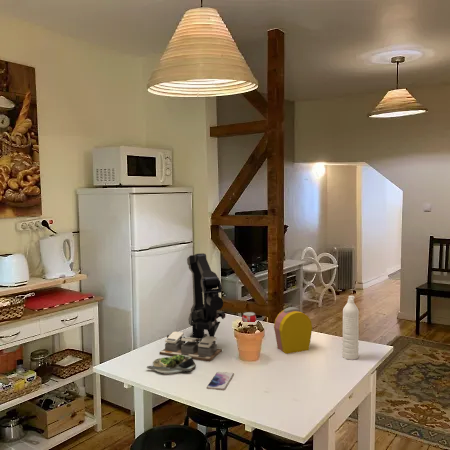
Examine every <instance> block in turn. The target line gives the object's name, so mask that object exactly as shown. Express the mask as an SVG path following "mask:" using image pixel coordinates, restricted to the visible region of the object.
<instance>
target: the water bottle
mask: <svg viewBox="0 0 450 450" xmlns="http://www.w3.org/2000/svg"><path fill="white" fill-rule="evenodd" d="M355 298H356V297H355V296H354V295H348V298H347V302H346V304H345V305H344V307H343V309H342V352H341V353H342V358H343V359H345V360H352V361H353V360H358V359H359V337H360V336H359V332H360V331H359V330H360V329H359V325H360V323H359V322H360V321H359V316H360V315H359V314H360V311H359V308H358V306H357V305H356V303H355Z"/></svg>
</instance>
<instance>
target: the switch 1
mask: <svg viewBox="0 0 450 450" xmlns="http://www.w3.org/2000/svg"><path fill="white" fill-rule="evenodd" d="M184 335H185V332H182V331H172V333H171V334H169V337H168V338H167V337H166V339H165V340H164V343H174V344H176V343H177V341H178V340H180V337H182V338H183V337H184Z"/></svg>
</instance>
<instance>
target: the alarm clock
mask: <svg viewBox="0 0 450 450" xmlns="http://www.w3.org/2000/svg"><path fill="white" fill-rule="evenodd" d="M273 330H274V334H275V339H276V340H275V341H276V346H277V349H278V350H279V351H281V352H282V353H283V354H285V355H288V354H294V353H300V352H307V351H310V345H311V339H312V331H313V324H312V320H311V319H310V317H309V316H308V315H307V314H305V313H304V312H301V310H300V308H297V307H295V306H292V307H291V306H289V307H287V308H285V309H283V310H281V311H280V312H279V313H278V314H277V316H276V317H275V319H274V324H273Z"/></svg>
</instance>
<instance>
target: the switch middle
mask: <svg viewBox="0 0 450 450" xmlns="http://www.w3.org/2000/svg"><path fill="white" fill-rule="evenodd" d="M196 339H199V338H191V337H190V336H189V337H185V338H183V337H182V338H181V340H182V341H185V342H188V341H190V342H194V341H195V342H196ZM199 340H200V339H199Z"/></svg>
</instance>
